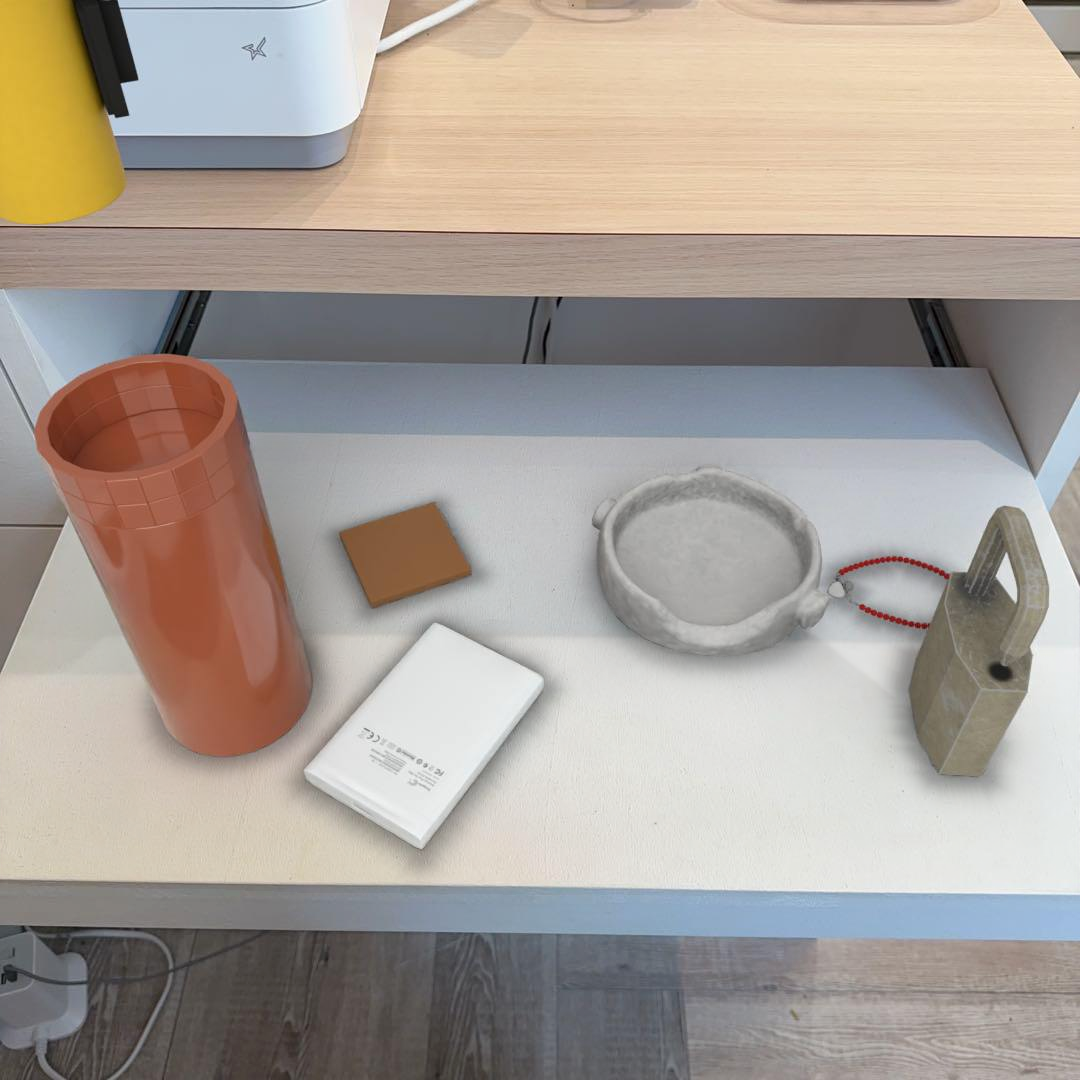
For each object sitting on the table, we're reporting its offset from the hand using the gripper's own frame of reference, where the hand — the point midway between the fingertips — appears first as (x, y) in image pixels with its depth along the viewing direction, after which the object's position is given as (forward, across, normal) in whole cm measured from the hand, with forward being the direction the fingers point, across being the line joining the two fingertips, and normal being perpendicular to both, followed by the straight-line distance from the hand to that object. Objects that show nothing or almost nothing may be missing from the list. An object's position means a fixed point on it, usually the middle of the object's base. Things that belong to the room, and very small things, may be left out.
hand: (30, 112), depth 39 cm
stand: (+36, 0, 0) cm, 36 cm away
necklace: (+36, +41, -10) cm, 56 cm away
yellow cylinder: (+3, 0, 0) cm, 3 cm away
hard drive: (+36, +10, -8) cm, 38 cm away
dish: (+36, +30, -4) cm, 47 cm away
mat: (+36, +13, +6) cm, 39 cm away
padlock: (+36, +38, -19) cm, 56 cm away
